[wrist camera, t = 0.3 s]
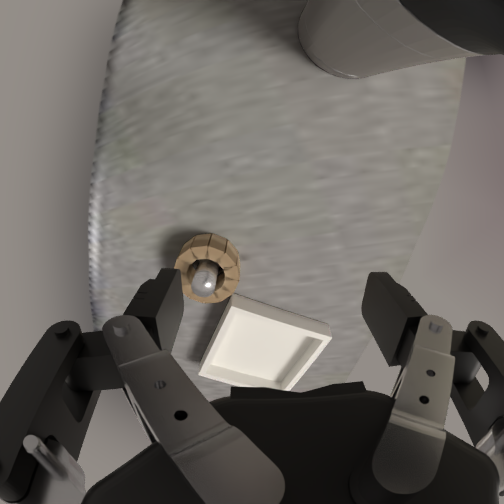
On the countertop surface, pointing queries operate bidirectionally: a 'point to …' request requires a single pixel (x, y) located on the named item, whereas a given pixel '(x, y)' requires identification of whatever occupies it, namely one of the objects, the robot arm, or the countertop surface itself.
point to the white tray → (262, 345)
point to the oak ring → (215, 251)
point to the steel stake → (205, 278)
